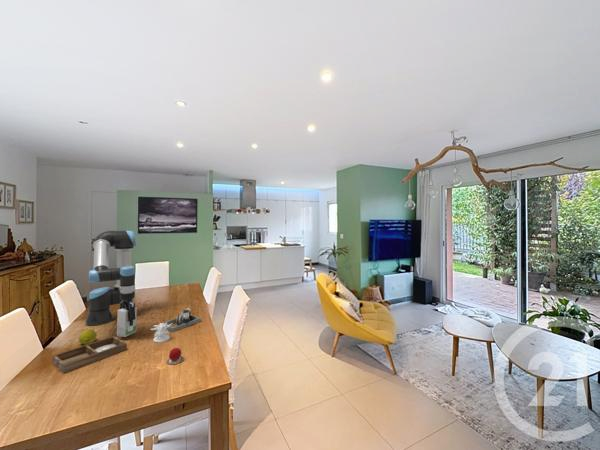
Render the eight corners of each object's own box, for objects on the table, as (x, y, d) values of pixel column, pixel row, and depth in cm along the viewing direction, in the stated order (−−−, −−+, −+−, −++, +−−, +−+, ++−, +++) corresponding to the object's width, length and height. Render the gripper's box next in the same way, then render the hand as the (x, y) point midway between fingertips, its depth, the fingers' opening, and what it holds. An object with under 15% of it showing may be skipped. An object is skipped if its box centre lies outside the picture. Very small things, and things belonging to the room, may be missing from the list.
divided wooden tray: (52, 364, 122) (52, 355, 122) (113, 343, 144) (113, 335, 144) (63, 375, 114) (63, 365, 114) (126, 351, 136) (126, 343, 136)
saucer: (91, 351, 133) (91, 348, 133) (112, 344, 141) (112, 341, 141) (98, 357, 128) (98, 354, 128) (119, 349, 136) (119, 346, 136)
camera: (178, 319, 182) (179, 306, 182) (191, 318, 185) (191, 304, 185) (175, 328, 167) (175, 313, 167) (189, 326, 170) (189, 312, 170)
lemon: (93, 346, 141) (93, 332, 141) (75, 349, 137) (76, 334, 137) (99, 338, 151) (99, 325, 150) (82, 340, 147) (83, 327, 147)
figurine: (172, 334, 157) (172, 318, 157) (172, 340, 149) (172, 323, 149) (150, 338, 152) (150, 321, 152) (149, 344, 144) (149, 326, 144)
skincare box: (124, 337, 146) (125, 311, 146) (115, 335, 148) (116, 310, 147) (136, 331, 154) (137, 306, 154) (128, 329, 156) (129, 305, 155)
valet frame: (160, 327, 168) (160, 323, 168) (188, 317, 186) (188, 314, 186) (172, 332, 161) (172, 328, 161) (200, 321, 178) (200, 318, 178)
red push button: (172, 366, 122) (172, 353, 122) (163, 362, 126) (163, 349, 126) (186, 359, 129) (187, 347, 129) (177, 355, 133) (178, 343, 133)
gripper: (112, 290, 153) (112, 327, 153) (128, 296, 142) (128, 336, 142) (126, 287, 159) (125, 322, 159) (142, 293, 148) (142, 331, 149)
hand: (126, 329), depth 151 cm, fingers closed on skincare box, 8 cm apart
